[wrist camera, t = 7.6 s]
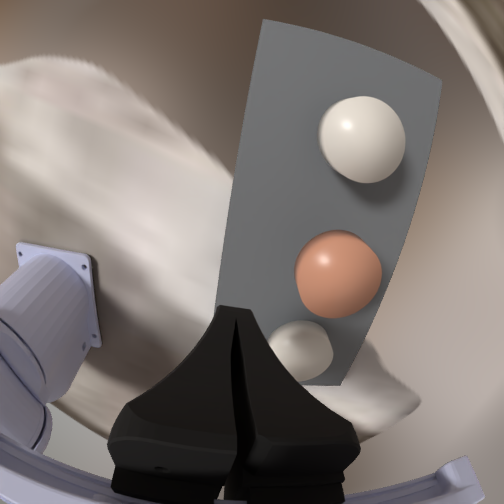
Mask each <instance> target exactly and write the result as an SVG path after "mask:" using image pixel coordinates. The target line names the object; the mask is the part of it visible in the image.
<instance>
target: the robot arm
mask: <svg viewBox="0 0 504 504" xmlns="http://www.w3.org/2000/svg"><path fill="white" fill-rule="evenodd" d="M16 251H17V257H18V262H19V269H17V270H16V271H15V272H14V273H13V274H12V275H11V276H10V277H8V278H7V279H6V280H5V281H4V282H3V283H2V284H1V285H0V499H1V500H3V501H4V502H6V503H8V504H476V503H478V502H480V501H481V500H483V499H484V497H485V496H484V493H483V490H482V488H481V486H480V484H479V481H478V479H477V477H476V474H475V472H474V470H473V467H472V465H471V463H470V461H469V459H468V457H467V456H466V455H465V456H463V457H460V458H458V459H455V460H452V461H450V462H448V463H446V464H444V465H443V466H442V467H440V468H439V469H438V470H437V471H436V472H435V473H432V474H430V475H426V476H423V477H420V478H417V479H414V480H410V481H407V482H403V483H399V484H395V485H392V486H387V487H383V488H379V489H374V490H370V491H364V492H360V493H353V494H347V495H344V492H343V488H342V484H341V483H343V482H344V480H345V477H344V474H343V471H344V470H345V469H346V468H347V467H348V466H349V465H350V464H351V463H352V462H353V461H354V460H355V459H356V458H357V456H358V455H359V453H360V450H361V448H360V444H359V441H358V438H357V435H356V432H355V430H354V428H353V425H352V423H351V422H349V421H348V420H346V419H344V418H343V417H341V416H340V415H338V414H336V413H335V412H333V411H332V410H330V409H329V408H328V407H326V406H325V405H324V404H322V403H321V402H320V401H318V400H317V399H316V398H315V397H313V396H312V395H311V394H310V393H309V392H308V391H307V390H306V389H305V388H304V387H303V386H301V385H300V384H299V383H298V382H297V381H296V380H295V379H294V377H293V376H292V375H291V374H290V373H289V372H288V370H287V369H286V368H285V367H284V365H283V364H282V363H281V361H280V360H279V359H278V357H277V356H276V354H275V353H274V351H273V350H272V348H271V347H270V345H269V343H268V342H267V340H266V338H265V337H264V335H263V333H262V331H261V329H260V327H259V325H258V323H257V321H256V319H255V317H254V314H253V312H252V311H251V309H245V308H238V307H231V306H225V305H219V306H217V309H216V312H215V315H214V317H213V319H212V321H211V323H210V325H209V327H208V328H207V330H206V332H205V333H204V335H203V336H202V338H201V339H200V340H199V342H198V343H197V345H196V346H195V347H194V349H193V350H192V351H191V352H190V353H189V355H188V356H187V357H186V358H185V359H184V360H183V361H182V362H181V363H180V364H179V365H178V366H177V367H176V368H175V369H174V370H173V371H172V372H171V373H170V374H169V375H167V376H166V377H165V378H164V379H163V380H161V381H160V382H159V383H157V384H156V385H155V386H153V387H152V388H151V389H149V390H148V391H146V392H145V393H143V394H141V395H140V396H138V397H136V398H135V399H133V400H131V401H130V402H128V403H126V405H125V406H124V408H123V409H122V411H121V412H120V414H119V415H118V417H117V419H116V421H115V423H114V425H113V427H112V430H111V433H110V436H109V439H108V443H107V446H108V450H109V453H110V455H111V457H112V459H113V462H114V464H115V470H114V474H113V478H112V480H110V479H107V478H104V477H100V476H97V475H94V474H91V473H88V472H85V471H83V470H80V469H77V468H74V467H71V466H69V465H66V464H64V463H62V462H59V461H57V460H54V459H52V458H50V457H47V456H45V455H43V452H44V450H45V449H46V447H47V445H48V442H49V440H50V436H51V431H52V416H51V413H50V411H49V409H48V408H47V406H46V403H50V402H53V401H55V400H57V399H59V398H60V397H62V396H63V395H64V394H65V393H66V392H67V391H68V389H69V388H70V386H71V384H72V382H73V380H74V378H75V376H76V374H77V372H78V370H79V368H80V366H81V364H82V362H83V361H84V359H85V357H86V355H87V353H88V351H89V349H90V347H91V346H92V347H96V348H100V347H101V345H102V341H101V336H100V330H99V324H98V317H97V310H96V303H95V295H94V286H93V277H92V266H91V258H90V257H89V256H88V255H87V254H84V253H78V252H72V251H67V250H61V249H56V248H51V247H45V246H40V245H35V244H30V243H24V242H19V243H17V245H16ZM84 265H86V266H87V268H85V267H84ZM94 334H95V335H94ZM224 484H225V488H224V500H219V499H217V498H218V496H219V493H220V491H221V488H222V486H224Z"/></svg>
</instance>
